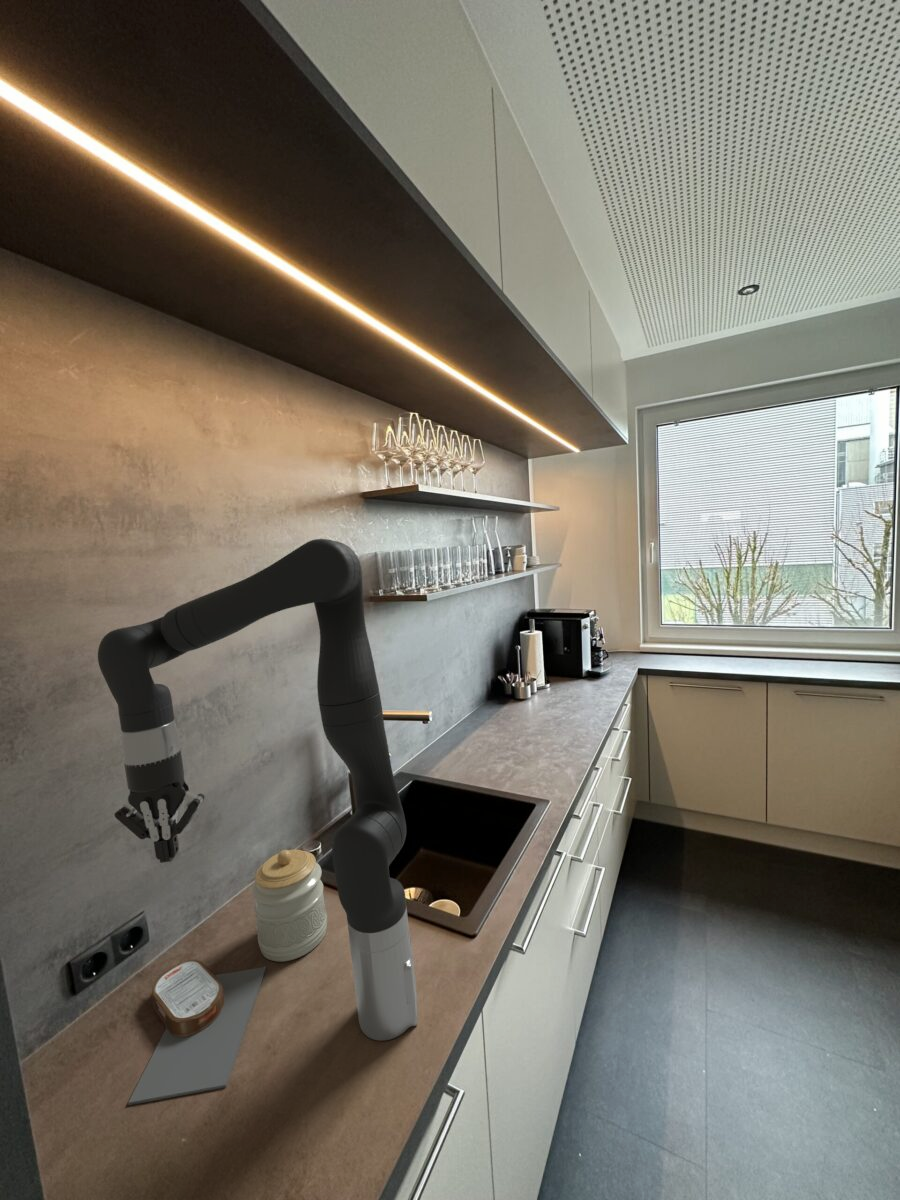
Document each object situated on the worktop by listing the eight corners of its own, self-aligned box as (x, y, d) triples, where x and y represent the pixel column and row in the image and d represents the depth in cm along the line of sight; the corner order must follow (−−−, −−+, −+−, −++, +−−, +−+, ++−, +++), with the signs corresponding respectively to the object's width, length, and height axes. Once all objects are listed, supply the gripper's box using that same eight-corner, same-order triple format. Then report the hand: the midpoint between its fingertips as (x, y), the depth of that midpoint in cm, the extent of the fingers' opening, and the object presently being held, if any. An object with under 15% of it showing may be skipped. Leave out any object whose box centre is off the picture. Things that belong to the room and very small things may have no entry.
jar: (303, 969, 87) (292, 876, 85) (244, 958, 90) (232, 868, 89) (340, 916, 99) (330, 834, 98) (286, 908, 103) (276, 829, 101)
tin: (180, 1047, 73) (234, 1009, 80) (179, 1027, 73) (233, 990, 80) (144, 998, 83) (195, 967, 90) (143, 980, 83) (194, 950, 89)
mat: (266, 968, 87) (265, 966, 87) (225, 1087, 68) (225, 1084, 68) (191, 981, 86) (191, 978, 86) (128, 1105, 66) (128, 1102, 66)
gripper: (206, 738, 79) (220, 839, 80) (121, 749, 78) (137, 851, 79) (186, 756, 72) (202, 867, 73) (92, 768, 70) (109, 881, 72)
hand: (168, 859), depth 76 cm, fingers closed
